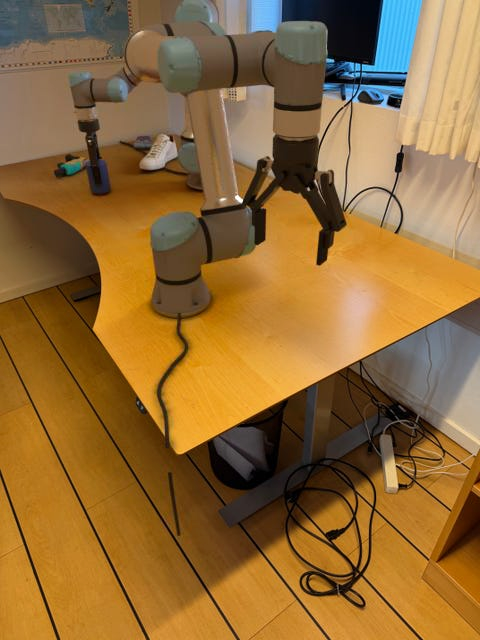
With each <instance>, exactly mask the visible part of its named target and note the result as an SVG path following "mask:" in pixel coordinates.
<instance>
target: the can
mask: <svg viewBox="0 0 480 640" xmlns="http://www.w3.org/2000/svg"><path fill="white" fill-rule="evenodd" d="M85 165H86V167H85V169H86V174H87V179H88V184H89V189H90V192H91V193H93V194H105V193H109V192H111V190H112V187H111V181H110V176H109V170H108V165H107V161H106V160H105V159H101V160H98V165H99V169H100V174H101V179H102V184H98V185H95V182H94V177H93V172H92V168H90V166H91V164H90V161H88V162H86V163H85Z"/></svg>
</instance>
